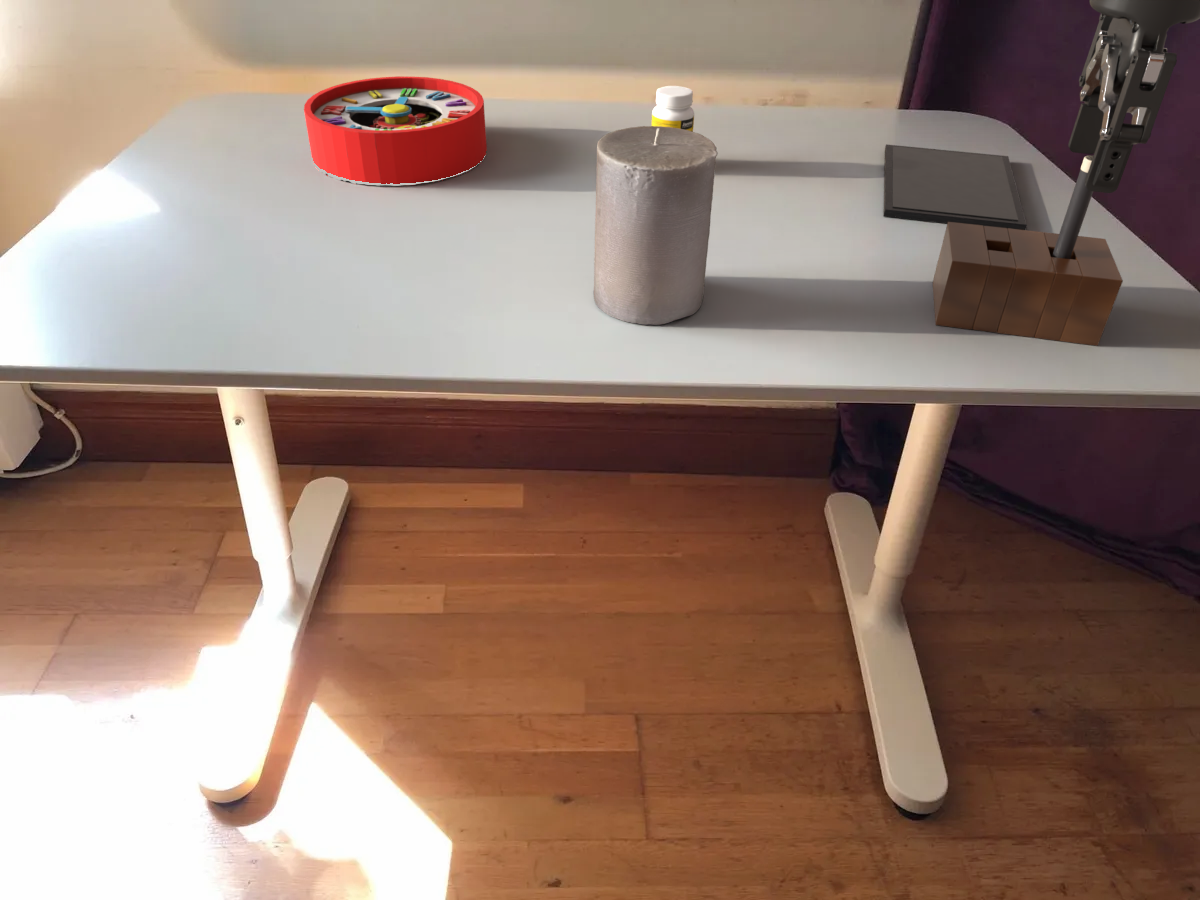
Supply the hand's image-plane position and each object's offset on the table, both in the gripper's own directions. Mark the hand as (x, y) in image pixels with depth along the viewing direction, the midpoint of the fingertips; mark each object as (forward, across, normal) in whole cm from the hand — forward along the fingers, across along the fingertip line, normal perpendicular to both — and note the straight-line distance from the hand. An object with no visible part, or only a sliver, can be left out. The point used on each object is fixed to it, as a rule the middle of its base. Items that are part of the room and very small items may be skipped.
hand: (1089, 170), depth 75 cm
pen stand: (+13, 0, +2) cm, 13 cm away
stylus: (+13, 0, 0) cm, 13 cm away
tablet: (+13, +28, +6) cm, 32 cm away
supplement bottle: (+13, +26, +37) cm, 47 cm away
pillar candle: (+13, -6, +33) cm, 36 cm away
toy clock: (+14, +21, +68) cm, 73 cm away
